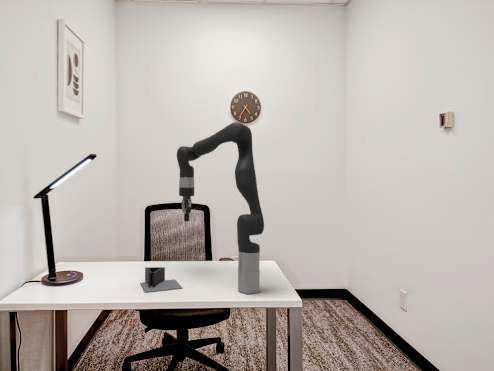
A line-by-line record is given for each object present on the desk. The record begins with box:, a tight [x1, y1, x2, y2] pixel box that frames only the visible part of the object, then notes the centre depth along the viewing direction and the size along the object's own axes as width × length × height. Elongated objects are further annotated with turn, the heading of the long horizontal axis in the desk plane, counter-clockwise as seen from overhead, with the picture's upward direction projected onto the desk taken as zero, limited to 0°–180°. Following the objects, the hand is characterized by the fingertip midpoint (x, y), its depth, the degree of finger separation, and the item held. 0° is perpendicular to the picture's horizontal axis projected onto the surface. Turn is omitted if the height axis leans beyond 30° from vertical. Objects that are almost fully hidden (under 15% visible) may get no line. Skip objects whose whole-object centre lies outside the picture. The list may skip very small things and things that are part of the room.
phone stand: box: [144, 266, 166, 288], centre depth 167 cm, size 9×6×12 cm
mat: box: [140, 279, 183, 294], centre depth 165 cm, size 14×16×1 cm
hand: (186, 221), depth 185 cm, fingers closed
